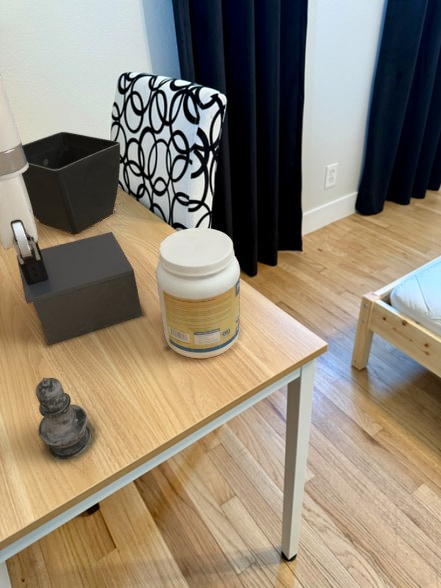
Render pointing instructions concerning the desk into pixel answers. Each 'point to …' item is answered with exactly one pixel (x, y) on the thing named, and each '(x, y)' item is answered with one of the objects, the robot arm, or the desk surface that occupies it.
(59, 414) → the chess piece
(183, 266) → the supplement tub
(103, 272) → the lid
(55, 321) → the chest
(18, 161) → the robot arm
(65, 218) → the flower pot
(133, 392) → the desk surface
